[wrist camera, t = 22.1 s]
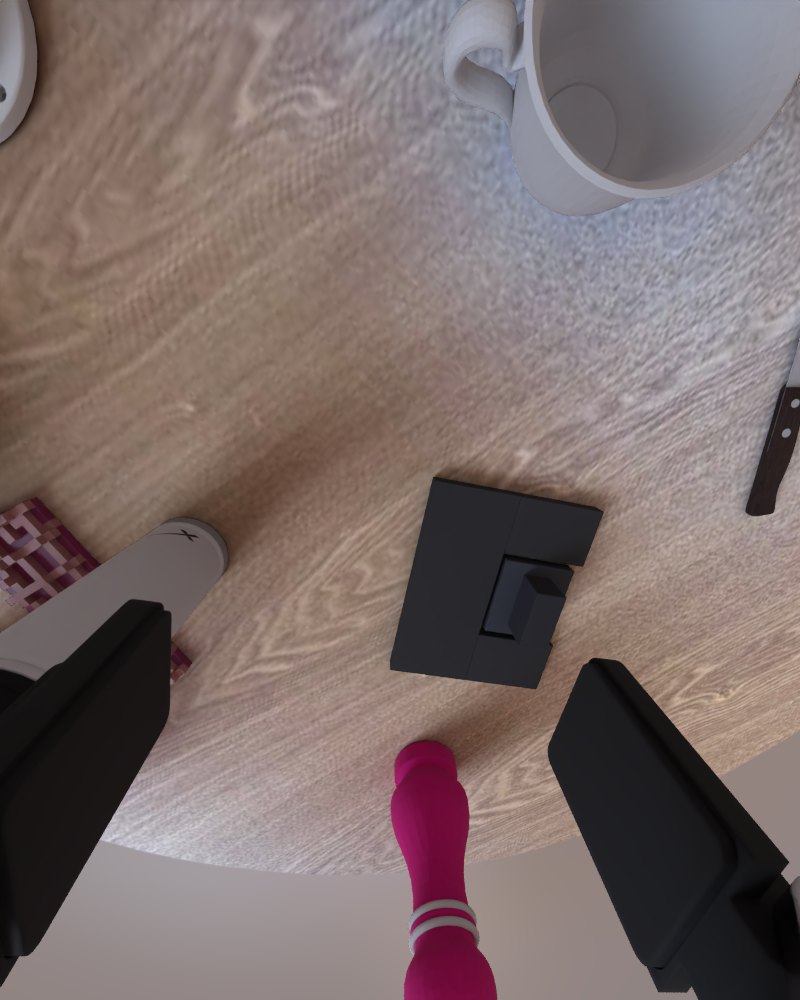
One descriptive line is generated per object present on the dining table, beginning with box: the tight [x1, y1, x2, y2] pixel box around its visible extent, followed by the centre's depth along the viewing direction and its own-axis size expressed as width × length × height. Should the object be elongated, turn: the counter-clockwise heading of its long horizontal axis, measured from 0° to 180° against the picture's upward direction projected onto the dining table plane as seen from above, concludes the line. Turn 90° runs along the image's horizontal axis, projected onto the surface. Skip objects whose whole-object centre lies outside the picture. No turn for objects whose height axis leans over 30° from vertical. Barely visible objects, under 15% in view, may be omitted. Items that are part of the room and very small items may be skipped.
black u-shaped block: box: [390, 477, 603, 689], centre depth 34 cm, size 18×14×1 cm
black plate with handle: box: [482, 554, 574, 651], centre depth 33 cm, size 7×6×4 cm
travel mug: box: [0, 518, 228, 714], centre depth 22 cm, size 6×7×20 cm
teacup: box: [443, 0, 800, 216], centre depth 20 cm, size 12×15×10 cm
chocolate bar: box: [0, 497, 192, 685], centre depth 32 cm, size 7×19×2 cm, turn 30°
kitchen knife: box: [746, 339, 800, 516], centre depth 30 cm, size 18×1×2 cm
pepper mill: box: [391, 741, 497, 1000], centre depth 31 cm, size 7×7×20 cm
